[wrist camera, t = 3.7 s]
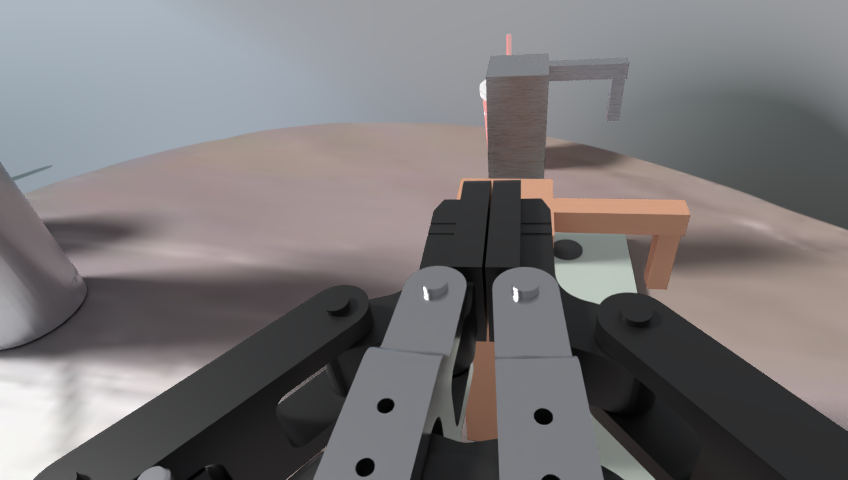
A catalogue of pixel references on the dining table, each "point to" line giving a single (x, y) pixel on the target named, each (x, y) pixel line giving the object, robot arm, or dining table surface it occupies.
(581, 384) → the robot arm
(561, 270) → the hole plate
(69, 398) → the dining table surface
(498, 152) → the rail
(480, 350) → the sliding leg
